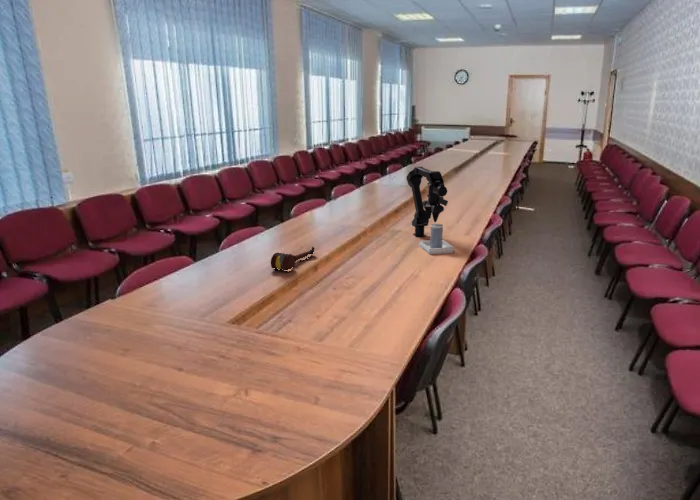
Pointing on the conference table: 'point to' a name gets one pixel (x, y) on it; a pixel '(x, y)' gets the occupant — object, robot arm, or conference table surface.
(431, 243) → the canister
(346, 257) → the conference table surface
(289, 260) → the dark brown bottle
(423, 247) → the tray
